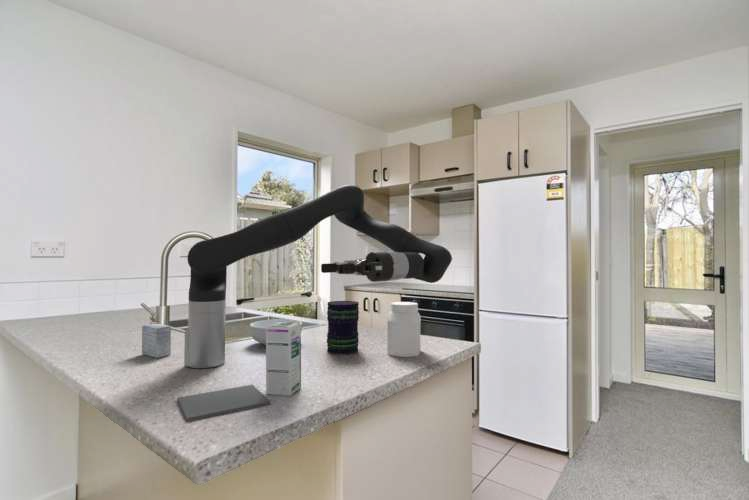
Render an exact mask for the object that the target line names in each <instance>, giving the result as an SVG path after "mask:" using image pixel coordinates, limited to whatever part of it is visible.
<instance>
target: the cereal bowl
mask: <svg viewBox="0 0 749 500" xmlns="http://www.w3.org/2000/svg"><path fill="white" fill-rule="evenodd" d="M278 322H296V323H300V324H301V332H303V331H302V330H303V323H302V321H300V320H296V319H291V318H289V319H285V318H278V319H277V318H275V319H263V320H258V321H255V322H251V323H250V324H249V332H250V336H251V338H252V339H253V340H254V341H255V342H257V343H260V344H261V345H262V344H263V345H264V346H265V345H266V327H267V326H271V325H274V324H276V323H278Z"/></svg>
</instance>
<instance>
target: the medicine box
mask: <svg viewBox="0 0 749 500" xmlns="http://www.w3.org/2000/svg"><path fill="white" fill-rule="evenodd" d="M171 345H172V326H171V325H167V324H161V323H151V324H145V325H142V327H141V355H143V356H148V357H150V358H151V357H152V358H155V359H159V358H163V357H168V356H171V355H172V350H171V349H172V347H171Z"/></svg>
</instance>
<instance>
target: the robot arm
mask: <svg viewBox="0 0 749 500" xmlns="http://www.w3.org/2000/svg"><path fill="white" fill-rule="evenodd" d="M364 194H365V193H364V191H363V190H362V188H361V187H358V186H357V185H353V184H345V185H341V186H339V187H337V188H334V189H332V190H330V191H328V192H326V193H325V194H322V195H320V196H317V197H316V198H313V199H312V200H309V201H307V202H304V203H301V204H299V205H297V206H294V207H292V208H289V209H285V210H283V211H279V212H277V213H273V214H271V215H269V216H266V217H265V218H262V219H259V220H258V221H255V222H253V223H252V224H251V223H250V225H247V226H245V227H243V228H241V229H240V230H237V231H234V232H232V233H228V234H224V235H220V236H217V237H214V238H209V239H203V240H201V241H198V242H196V243H195V244H193V246H192V247H190V250H189V251H188V253H187V264H188V266H189V268H190V282H189V289H188V310H187V311H188V316H187V317H188V321H187V326H188V328H187V329H185V330H184V352H183V353H184V354H183V355H184V359H183V361H184V362H183V364H184V365H183V366H184V367H188V368H191V369H209V368H215V367H218V366H219V367H220V366H222V365H223V364H225V361H226V299H227V298H226V297H227V274H228V273H227V271H228V270H227V267H229V266H230V265H232V264H234V263H237V262H238V261H240V260H242V259H243V260H244V258H248V257H250V256H255V255H258V254H262V253H266V252H270V251H273V250H276V249H280V248H282V247H284V246H287V245H289V244H292V243H294V242H297V241H298V240H301V239H302V238H303V237H305V236H306V235H307V234H308V233H309V232H311V230H313V229H314V228H315V227H316V226H317V225H318V224H319V223H320V222H322V221H323V220H325V219H327V218H329V217H332V216H334V217H335V219H336V220H337V221H338V222H339V223H341V224H343V225H345V226H346V227H349V228H351V229H352V230H353V229H354V230H356V231H358V232H360V233H362V234H364V235H366V236H368V237H370V238H372V239H374V240H375V241H377V242H379V243H381V244H382V245H384V246H386V247H387V248H388V249H390V250H391V251H369V253H368V254H367V255H366V257H365V258H364V259H362V258H359V259H358V258H357V259H354V260H351V259H350V260H344V261H343V262H342V261H341V262H338V261H334V262H333V263H331V262H330V263H329V262H328V263H321V265H320V267H321V268H320V272H321V273H323V274H326V273H330V274H331V273H335V274H339V275H355V276H361V277H362V276H364V277H365V276H366V278H367V280H369V281H370V282H371V283H372V282H373V283H378V282H392V281H399V280H405V279H406V280H407V279H414V280H419V281H422V282H426V283H431V284H432V283H433V284H434V283H437V282H439V281H440V280H442V278H443V276H444V275H445V273H446V272H447V270H448V268H449V267H450V264H451V263H452V260H453V257H452V254H451V251H449V250H448V249H447V248H446V247H444V246H443V245H439V244H436V243H432V242H429V241H427V240H424V239H422V238H419V237H417V236H416V235H414V234H413V233H411V232H410V231H408V230H406V228H403V227H401V226H399V225H397V224H394V223H390V222H384V221H381V220H378V219H376V218H374V217H372V216H371V215H370V214H369V213H368V212H367V211H365V209H364V207H365V195H364ZM421 254H422V255H424V257H423V256H422V255H421Z"/></svg>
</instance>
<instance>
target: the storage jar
mask: <svg viewBox="0 0 749 500" xmlns="http://www.w3.org/2000/svg"><path fill="white" fill-rule="evenodd" d="M359 314H360V310H359V302H358V301H354V300H353V301H352V300H332V301H328V302H327V313H326V315H327V317H326V319H327V320H326V321H327V326H328V327H327V334H326V343H327V345H326V346H327V348H326V350H327V351H326V352H327V353H328V354H331V355H340V356H341V355H345V356H346V355H353V354H357V353H358V352H359V341H360V340H359V332H358V331H359V330H358V326H359V325H358V324H359V323H358V321H359V319H360V317H359V316H360V315H359Z"/></svg>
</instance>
